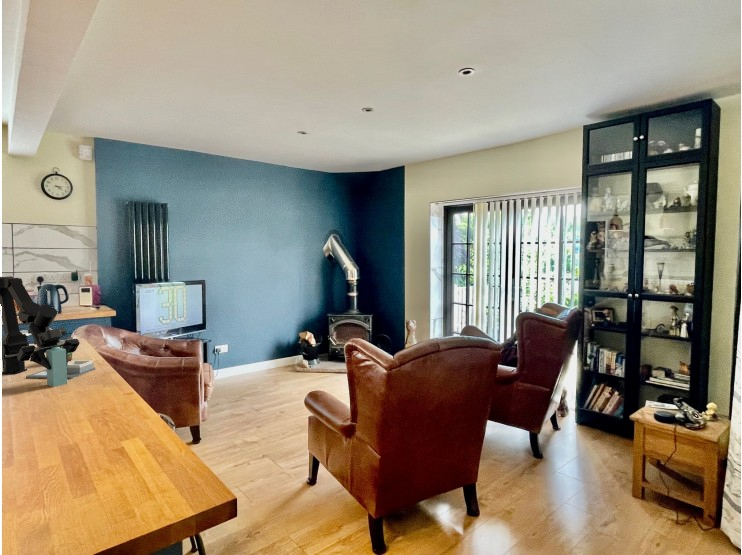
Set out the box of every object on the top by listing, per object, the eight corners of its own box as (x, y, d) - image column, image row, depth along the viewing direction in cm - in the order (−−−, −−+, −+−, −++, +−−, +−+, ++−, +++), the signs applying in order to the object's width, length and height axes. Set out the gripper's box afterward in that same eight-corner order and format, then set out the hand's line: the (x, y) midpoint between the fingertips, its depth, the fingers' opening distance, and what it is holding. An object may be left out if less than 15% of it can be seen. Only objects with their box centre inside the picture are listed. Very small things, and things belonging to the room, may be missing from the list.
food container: (62, 365, 190) (61, 342, 189) (48, 365, 190) (47, 342, 189) (81, 358, 202) (80, 336, 202) (68, 358, 202) (67, 336, 202)
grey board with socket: (25, 378, 170) (25, 368, 170) (53, 368, 184) (53, 359, 184) (71, 378, 169) (70, 368, 169) (95, 369, 183) (94, 359, 183)
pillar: (47, 385, 161) (45, 348, 161) (60, 382, 165) (59, 345, 164) (53, 387, 159) (52, 349, 158) (67, 383, 163) (65, 347, 162)
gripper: (19, 324, 155) (36, 359, 150) (76, 317, 171) (93, 348, 166) (10, 344, 159) (26, 378, 154) (66, 335, 175) (82, 366, 170)
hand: (58, 367), depth 161 cm, fingers open, 5 cm apart
